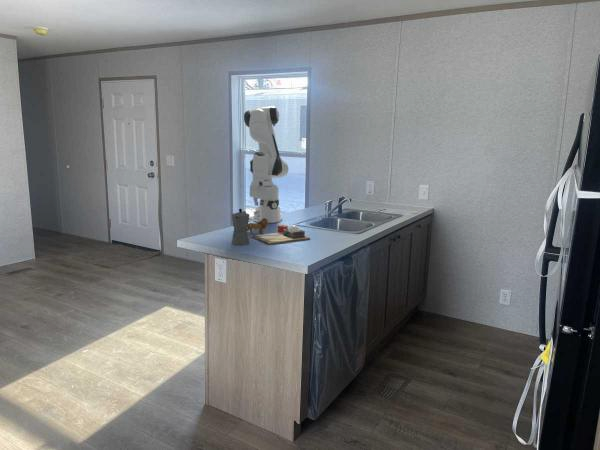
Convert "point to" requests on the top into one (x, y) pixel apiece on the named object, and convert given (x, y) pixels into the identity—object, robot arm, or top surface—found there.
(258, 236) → the wooden cutting board
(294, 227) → the dome
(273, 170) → the robot arm
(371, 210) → the top surface
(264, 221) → the lion figurine
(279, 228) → the red die
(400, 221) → the top surface
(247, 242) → the coffeepot
